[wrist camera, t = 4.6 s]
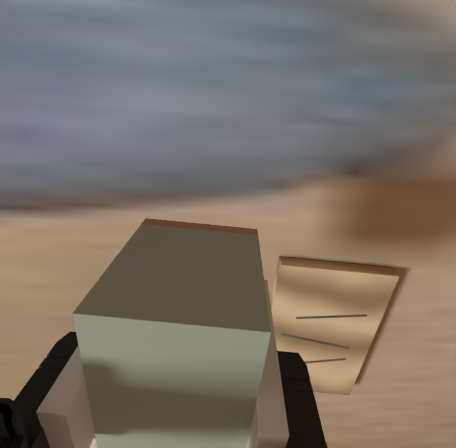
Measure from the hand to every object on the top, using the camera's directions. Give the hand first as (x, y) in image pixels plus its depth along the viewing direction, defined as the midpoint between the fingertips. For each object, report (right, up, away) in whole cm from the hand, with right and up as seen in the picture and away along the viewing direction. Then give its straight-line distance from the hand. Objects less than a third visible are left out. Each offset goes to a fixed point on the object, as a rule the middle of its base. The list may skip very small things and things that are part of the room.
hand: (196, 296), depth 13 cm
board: (+11, -8, +17) cm, 22 cm away
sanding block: (0, 0, +1) cm, 1 cm away
